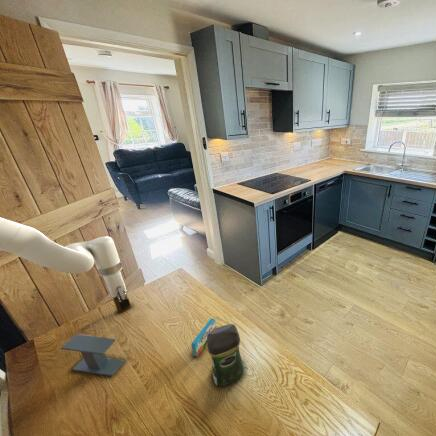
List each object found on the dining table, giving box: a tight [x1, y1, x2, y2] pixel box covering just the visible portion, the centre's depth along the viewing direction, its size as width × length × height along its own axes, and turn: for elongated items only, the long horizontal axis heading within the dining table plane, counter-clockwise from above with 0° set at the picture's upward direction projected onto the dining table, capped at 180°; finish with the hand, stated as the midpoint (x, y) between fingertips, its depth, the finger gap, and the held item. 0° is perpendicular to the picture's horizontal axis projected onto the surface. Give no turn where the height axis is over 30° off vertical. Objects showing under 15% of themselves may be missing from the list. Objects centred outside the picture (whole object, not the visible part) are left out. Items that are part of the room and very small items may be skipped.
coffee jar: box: [206, 323, 245, 388], centre depth 73 cm, size 10×8×19 cm
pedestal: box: [60, 333, 125, 377], centre depth 76 cm, size 14×5×11 cm, turn 83°
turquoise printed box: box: [190, 317, 217, 357], centre depth 86 cm, size 12×2×6 cm, turn 164°
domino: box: [111, 293, 132, 314], centre depth 99 cm, size 4×2×8 cm, turn 138°
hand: (122, 301), depth 99 cm, fingers open, 9 cm apart
